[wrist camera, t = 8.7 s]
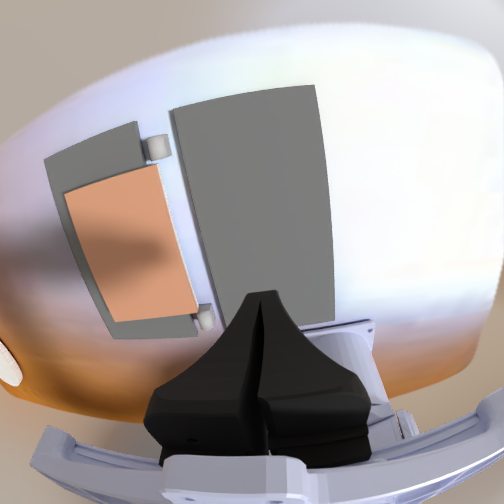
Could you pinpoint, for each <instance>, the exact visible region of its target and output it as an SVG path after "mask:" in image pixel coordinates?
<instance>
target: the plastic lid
mask: <svg viewBox="0 0 504 504" xmlns="http://www.w3.org/2000/svg"><path fill="white" fill-rule="evenodd" d="M0 378H1V379H2V380H3V381H5V382H7V383H9V384H10V385H12V386H18V385H19V384H20V382H21V380H22V379H23V377H22V372H21V370H20V368H19V366H18V365H17V363H16V361H15V360H14V358H13V357H12V355H11V354H10V352H8V350H7V349H6V348H5V346H4V345H3V344H2V343H1V342H0Z"/></svg>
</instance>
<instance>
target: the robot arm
mask: <svg viewBox="0 0 504 504" xmlns="http://www.w3.org/2000/svg"><path fill="white" fill-rule="evenodd" d="M370 328H371V329H370ZM369 329H370V330H369ZM374 332H375V322H374V321H373V320H369V321H364V322H359V323H354V324H348V325H343V326H337V327H331V328H325V329H319V330H312V331H306V332H301V330H300V329H299V328H298V327H297V325H296V324H295V323H294V322H293V320H292V319H291V317H290V316H289V314H288V312H287V311H286V309H285V308H284V306H283V304H282V302H281V299H280V297H279V293H278V291H277V290H268V291H260V292H253V293H247V295H246V296H245V298H244V300H243V302H242V304H241V306H240V308H239V309H238V311H237V313H236V314H235V316H234V318H233V319H232V321H231V322H230V324H229V325H228V327H227V328H226V330H225V331H224V332H223V334H222V335H221V336H220V338H219V339H218V340H217V341H216V343H215V344H214V345H213V346H212V347H211V348H210V349H209V350H208V351H207V352H206V353H205V354H204V355H203V356H202V357H201V358H200V359H199V360H198V361H197V362H195V363H194V364H193V365H192V366H191V367H189V368H188V369H187V370H185V371H184V372H183V373H181V374H180V375H178V376H177V377H175V378H174V379H172V380H170V381H169V382H167V383H165V384H164V385H162V386H160V387H158V388H157V389H155V390H154V393H153V395H152V397H151V399H150V402H149V405H148V408H147V411H146V414H145V417H144V420H143V422H144V426H145V428H146V429H147V430H148V432H149V433H150V434H151V435H152V436H153V437H154V439H156V441H157V442H158V443H159V444H160V445H161V446H162V451H161V456H160V460H157V459H150V458H144V457H138V456H133V455H128V454H123V453H119V452H114V451H109V450H106V449H102V448H98V447H94V446H91V445H87V444H84V443H81V442H77V441H76V440H75V439H74V438H73V437H72V436H71V435H70V434H68V433H67V432H65V431H63V430H61V429H58V428H55V427H52V426H49V425H47V427H46V429H45V431H44V433H43V435H42V437H41V439H40V441H39V443H38V446H37V448H36V450H35V452H34V454H33V457H32V459H31V462H30V466H31V467H33V468H34V469H36V470H37V471H38V472H40V473H41V474H42V475H44V476H45V477H47V478H48V479H50V480H51V481H53V482H54V483H56V484H58V485H59V486H61V487H63V488H64V489H66V490H68V491H70V492H73V493H75V494H77V495H80V496H82V497H84V498H86V499H89V500H91V501H94V502H96V503H99V504H421V503H422V502H423V501H424V500H427V499H429V498H431V497H433V496H435V495H438V494H440V493H442V492H444V491H446V490H448V489H450V488H452V487H454V486H456V485H457V484H459V483H461V482H463V481H465V480H467V479H468V478H470V477H472V476H474V475H475V474H477V473H479V472H480V471H482V470H484V469H486V468H487V467H489V466H490V465H492V464H494V463H495V462H497V461H498V460H500V459H501V458H502V457H503V456H504V387H502V388H500V389H498V390H497V391H495V392H493V393H491V394H489V395H488V396H486V397H485V398H484V399H483V400H482V401H481V402H480V403H479V405H478V407H477V408H476V410H475V411H472V412H470V413H468V414H466V415H464V416H462V417H460V418H458V419H455V420H453V421H451V422H449V423H446V424H444V425H442V426H439V427H437V428H434V429H432V430H429V431H426V432H424V433H421V434H419V432H418V429H417V426H416V423H415V421H414V419H413V416H412V414H411V413H410V412H408V411H404V410H403V409H400V410H398V411H396V414H397V418H398V421H399V426H400V430H401V433H402V435H401V433H400V430H399V427H398V423H397V421H396V418H395V415H394V412H393V409H392V406H391V403H390V402H389V401H388V398H387V395H386V392H385V389H384V386H383V384H382V381H381V378H380V375H379V373H378V370H377V367H376V365H375V362H374V359H373V357H372V354H371V353H372V347H373V340H374ZM269 450H270V452H271V455H272V456H269Z"/></svg>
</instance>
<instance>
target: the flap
mask: <svg viewBox="0 0 504 504" xmlns="http://www.w3.org/2000/svg"><path fill="white" fill-rule="evenodd" d="M64 196H65V199H66V202H67V206H68V209H69V212H70V215H71V218H72V221H73V224H74V227H75V230H76V233H77V236H78V238H79V241H80V244H81V247H82V249H83V252H84V254H85V257H86V259H87V262H88V264H89V267H90V269H91V272H92V274H93V276H94V279H95V281H96V283H97V285H98V288H99V290H100V292H101V294H102V296H103V299H104V301H105V303H106V305H107V307H108V309H109V311H110V313H111V315H112V317H113V319H114V321H115V322H121V321H131V320H141V319H150V318H159V317H167V316H175V315H183V314H191V313H197V312H198V307H199V305H198V302H197V298H196V295H195V292H194V289H193V286H192V283H191V280H190V277H189V273H188V270H187V267H186V264H185V260H184V257H183V254H182V250H181V247H180V243H179V240H178V236H177V233H176V229H175V226H174V222H173V218H172V215H171V211H170V207H169V203H168V199H167V196H166V192H165V188H164V184H163V180H162V175H161V171H160V167H159V163H157V164H154V165H150V166H146V167H143V168H139V169H136V170H133V171H129V172H126V173H123V174H119V175H116V176H113V177H110V178H107V179H104V180H101V181H98V182H95V183H92V184H89V185H86V186H83V187H81V188H78V189H75V190H73V191H70V192H68V193H66V194H64Z"/></svg>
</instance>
